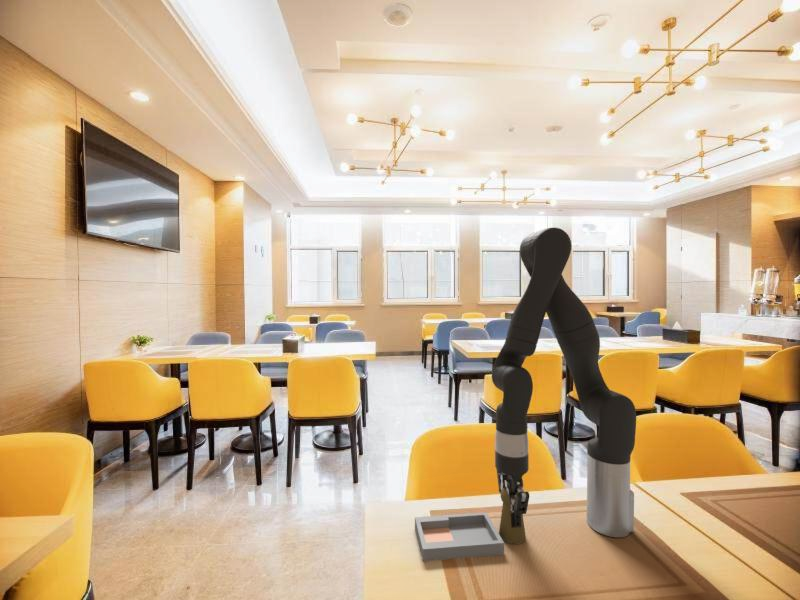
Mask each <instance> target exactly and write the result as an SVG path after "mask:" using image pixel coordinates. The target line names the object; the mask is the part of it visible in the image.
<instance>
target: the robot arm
mask: <svg viewBox="0 0 800 600" xmlns="http://www.w3.org/2000/svg"><path fill="white" fill-rule="evenodd" d="M571 253H572V240H571V237H570V236H569V234H568V233H567V232H566V231H565V230H563V228H560V227H548V228H544V229H540V230H538V231H535V232H531V233H529V234H528V235H526V236H525V237H524V238H523V239H522V241H521V243H520V245H519V256H520V259H521V262H522V264H523V266H524V267H525V269H526V271H527V272H528V275H529V277H530V280H529V281H528V285H527V287H526V289H525V291H524V293H523V295H522V297H521V298H520V300H519V302H518V303H517V305H516V306H515V309H514V311H513V314H512V316H511V318H510V321H509V326H508V329H507V333H506V337H505V341H504V344H503V345H502V347H501V349H500V351H499V353H498V355H497V357H496V359H495V361H494V363H493V366H492V370H491V381H492V383H493V385H494V387H495V388H496V389H498V390H500V391H502V393H503V394H502V395H503V398H502V402H501V403H499V404H498V405H497V406H496V410H495V436H494V464H495V465H494V467H495V468H496V477H497V484H498V492H499V493H500V494H501V490H502V488H504V487H506V489H507V495H508V500H509V501H510V502H511V506H510V510H511V526H512V528H513V527H521V514H523V515H526V514H527V510H528V505H529V502H530V501H529V500H530V493H529V491H525V490H524V480H523V477H524V475H525V474H527V473H528V471H529V468H530V467H529V459H530V456H529V435H528V411H529V409H530V404H531V400H532V396H533V391H534V385H533V383H534V382H533V377H532V375H531V373H530V371H529V370H527V369H526V368H525V367H523V364H524V362H525V360H526V359H527V357H531V356H533V355H534V354H535V352H536V349H537V345H538V342H539V339H540V335H541V331H542V326H543V324H544V319H545V316H546V315H547V317H548V320H549V322H550V325H551V328H552V331H553V333H554V335H555V339H556V341H557V343H558V345H559V346H558V347H559V348H560V351H561V352H562V355H563V357H564V360H565V362H566V366H567V368H568V370H569V372H570V374H571V378H572V380H573V384H574V388H575V391H576V394H577V399H578V402H579V406H580V409H581V411H582V413H583V415H584V416H585V418H586V419H588V420H589V421H590V422H591V423H592V424H594V425H597V427H598V433H597V434H598V436H597V437H595V438H592V439H589V440H588V442H587V445H586V447H587V448H586V450H587V453H586V454H587V456H586V457H587V459H586V460H587V461H586V470H587V471H586V487H587V488H586V522H587V525H588V526H589V527H590V528H591V529H593V530H594V531H596V532H597V533H599V534H601V535H604V536H607V537H612V538H625V537H627V536H628V535H629V534H630V533H634V531H635V493H634V491H633V490H632V489H631V458H632V457H631V455H632V453H633V451H634V448H635V444H636V434H637V433H636V430H637V411H636V406H635V404H634V403H633V401H632V399H630V398H629V397H628V396H625V394H622V393H619V392H616V391H614V390H611V389H610V388H609V387H608V386H607V383H606V382H605V379H604V377H603V375H602V372H601V369H600V365H599V355H600V348H601V340H600V335H599V332H598V329H597V327H596V324H595V321H594V319H593V316H592V315H591V312H590V311H589V309H588V308H587V306H586V305H585V303H583V301H582V300H581V299H580V298H579V297H578V295H576V293H575V292H574V291H573V290H572V289H571V288H570V286H569V285H568V283H567V282H566V280H565V278H564V277H563V272H564V269H565V268H566V265H567V263H568V261H569V259H570V256H571ZM511 495H515V497H516V498H512V497H511ZM514 502H515V505H514Z"/></svg>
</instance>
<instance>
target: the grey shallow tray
mask: <svg viewBox="0 0 800 600" xmlns="http://www.w3.org/2000/svg"><path fill="white" fill-rule="evenodd" d="M414 530H415V534H416V539H417V541H418V546H419V552H420V555H421V559H422V562H430V561H431V562H432V561H443V560H455V559H467V558H476V557H477V558H478V557H479V558H480V557H493V556H501V555H505V541H504V540H503V539H502V538H501V536H500V535H499V530H497V528H496V526H495V524H494V522H493V521H492V520H491V517H490V516H489V514H488V513H487V512H486V511H485V512H471V513H456V514H444V515H443V514H441V515H428V516H414ZM489 555H490V556H489ZM492 555H493V556H492Z"/></svg>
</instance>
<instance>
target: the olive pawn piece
mask: <svg viewBox="0 0 800 600" xmlns="http://www.w3.org/2000/svg"><path fill="white" fill-rule="evenodd" d="M511 497H512V498H516V497H515V495H511ZM500 499H501V501H502V506H501V507H502V509H501V515H500V520H499V521H500V523H499V529H498V533H499V535H500V536H501V538H502V540H503V541H504V542H507V543H509V544H517V545H518V544H521V543H524V542H525V540H526V535H527V534H526V529H525V522H524V517H523V516H524V514H521V527H513V528H512V526H511V510H510V506H511V502H510V501H509V500H508V495H507V489H506V487H504V488H502V490H501V493H500ZM514 505H515V502H514Z"/></svg>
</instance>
